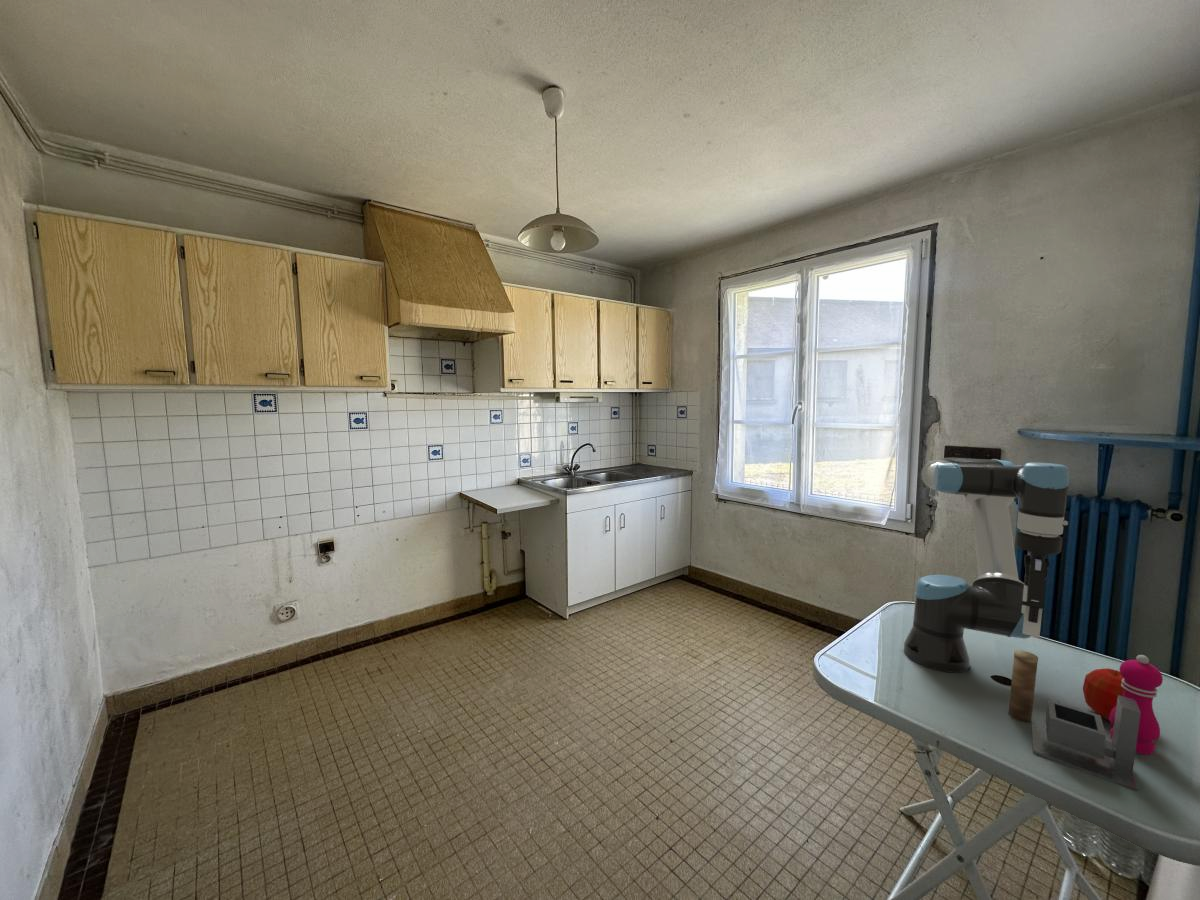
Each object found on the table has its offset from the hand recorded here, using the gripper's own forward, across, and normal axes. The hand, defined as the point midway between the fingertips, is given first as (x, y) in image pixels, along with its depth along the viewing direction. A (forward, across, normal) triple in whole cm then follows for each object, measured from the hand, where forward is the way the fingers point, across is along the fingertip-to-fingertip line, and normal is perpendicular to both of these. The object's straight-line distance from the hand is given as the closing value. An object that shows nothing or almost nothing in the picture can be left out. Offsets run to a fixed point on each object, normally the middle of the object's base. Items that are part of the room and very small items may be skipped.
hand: (1029, 624), depth 108 cm
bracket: (+22, -8, -9) cm, 26 cm away
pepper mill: (+23, +4, -18) cm, 29 cm away
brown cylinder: (+22, 0, 0) cm, 23 cm away
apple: (+23, +14, -16) cm, 31 cm away
